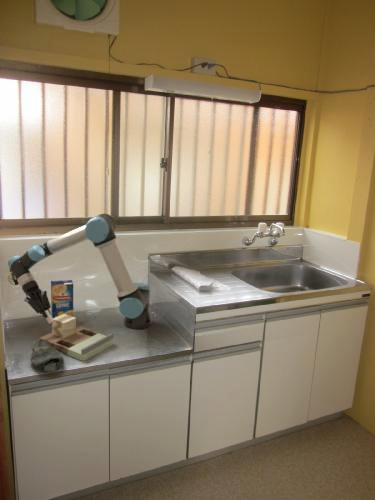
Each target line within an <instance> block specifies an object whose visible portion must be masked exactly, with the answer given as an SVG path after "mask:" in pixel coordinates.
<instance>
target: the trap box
mask: <svg viewBox="0 0 375 500" xmlns="http://www.w3.org/2000/svg"><path fill="white" fill-rule="evenodd" d="M98 333H99V332H98V331H97V332H96V331H94V330H91V329H88V328H85V327H82V326H79V325H77V324H76V333H75V334H72V335H70V336H68V337H66V338H61V337H59V336H56V335H53V334H52V332H50V333H47V334H45V335H43V336H41V337H39V338H38V339H43V340H45V341H47V343H48V344H49V346H51V347H53V348H55V349H56V350H58V351H59V352H60V353H61V354H65V355H67V356H69V355H68V348H70V347H72V346H74V345H76V344H78V343H80V342H82V341H84V340H86V339H88V338H90V337H92V336H94V335H96V334H98Z"/></svg>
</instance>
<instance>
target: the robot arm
mask: <svg viewBox="0 0 375 500" xmlns="http://www.w3.org/2000/svg"><path fill="white" fill-rule="evenodd" d="M116 227H117V223H116V220H115V218H114V217H113V216H112V215H110V214H108V213H101V214H98V215H96V216H94V217H92V218H90V219H89V220H88V221H87V222H86V223H85V224H84V225H82V226H80V227H77V228H75V229H73V230H71V231H68V232H66V233H62V235H59V236H57V237H54V238H51V239H50V240H48V241H45V242H46V243H45V242H43V243H44V244H43V245H40V244H39V245H37V244H35V245H34V246H32V247H31V248H29V249H28V250H27V251H26V252H25V253H23V254H22V256H21V255H15V256H13V257H11V258H9V259H8V261H7V266H8V268H9V270H10V271H11V273H12V274H13V275H14V277H15V279H16V280H17V282H18V284H19V286H20V287H21V289H22V291H23V292H24V294H25V296H26V297H25V298H24V300H23V301H25V303H27V304H28V305H29V306H30V307H31V308H32V309H33V310H34V311H35V312H36V314H40V315H42V316H43V318H44V319H46V321H47V323H48V324H49V325H52V319H53V318H52V316H51V310H50V308H51V302H50V300H49V297H48V294H47V293H48V292H47V290H41V288H40V287H39V284H38V283H37V281H36V280H35V278H34V275H33V274H32V273H31V271H30V269H31V268H33V267H34V266H35V265H36V264H38V263H39V262H40V261H42V260H44V259H46V258H48V257H50V256H53V255H54V254H57V253H59V252H63V251H64V250H66V249H69V248H71V247H74V246H76V245H78V244H81V243H83V242H85V241H87V240H89V241H91V243H92V244H93V246H94V248H96V249H98V250H99V252H100V254H101V257H102V259H103V261H104V263H105V266H106V267H107V270H108V272H109V274H110V276H111V278H112V282H113V283H114V286H115V288H116V290H117V294H116V297H117V300H118V302H119V306H118V307H119V309H118V310H119V313H120V314H121V315H122V316H123V317H124V318H123V325H124V327H127V328H129V329H133V330H143V329H147V328H149V327H151V326H152V318H151V313H150V309H149V308H150V292H151V289H150V288H151V287H150V285H149V284H148V283H144V282H133V280H132V277H131V276H130V273H129V271H128V268H127V267H126V264H125V261H124V259H123V257H122V255H121V252H120V251H119V250H120V249H119V248H118V245H117V243H116V241H117V236H116V233H115V230H116ZM19 261H20V262H19Z"/></svg>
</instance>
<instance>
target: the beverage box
mask: <svg viewBox="0 0 375 500" xmlns="http://www.w3.org/2000/svg"><path fill="white" fill-rule="evenodd" d="M50 289H51V290H50V295H51V296H50V299H51V300H50V306H51V307H50V308H51V310H50V313H51V316H52V318H55V317H58V316H60V315H63V314H66V315H69V316H72V317H74V281H73V280H72V279H69V280H68V279H66V280H50Z"/></svg>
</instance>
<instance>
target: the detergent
mask: <svg viewBox="0 0 375 500" xmlns="http://www.w3.org/2000/svg"><path fill="white" fill-rule="evenodd" d="M30 347H31V351H32V353H31V355H30V362H31V364H32V365H34V366H35V367H36V368H37V369H38V371H39V370H40V371H41V372H44V373H50V372H53V371H57V370H59V369H61V368H62V367H63V365H64V363H65V362H64V357H63V353H62V352H59V351H58V350H56V349H55V348H53V347H51V346H49V344H48V343H47V341H45V340H43V339H39V338H36V339H35V341H33V343H32V344H31V346H30Z"/></svg>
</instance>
